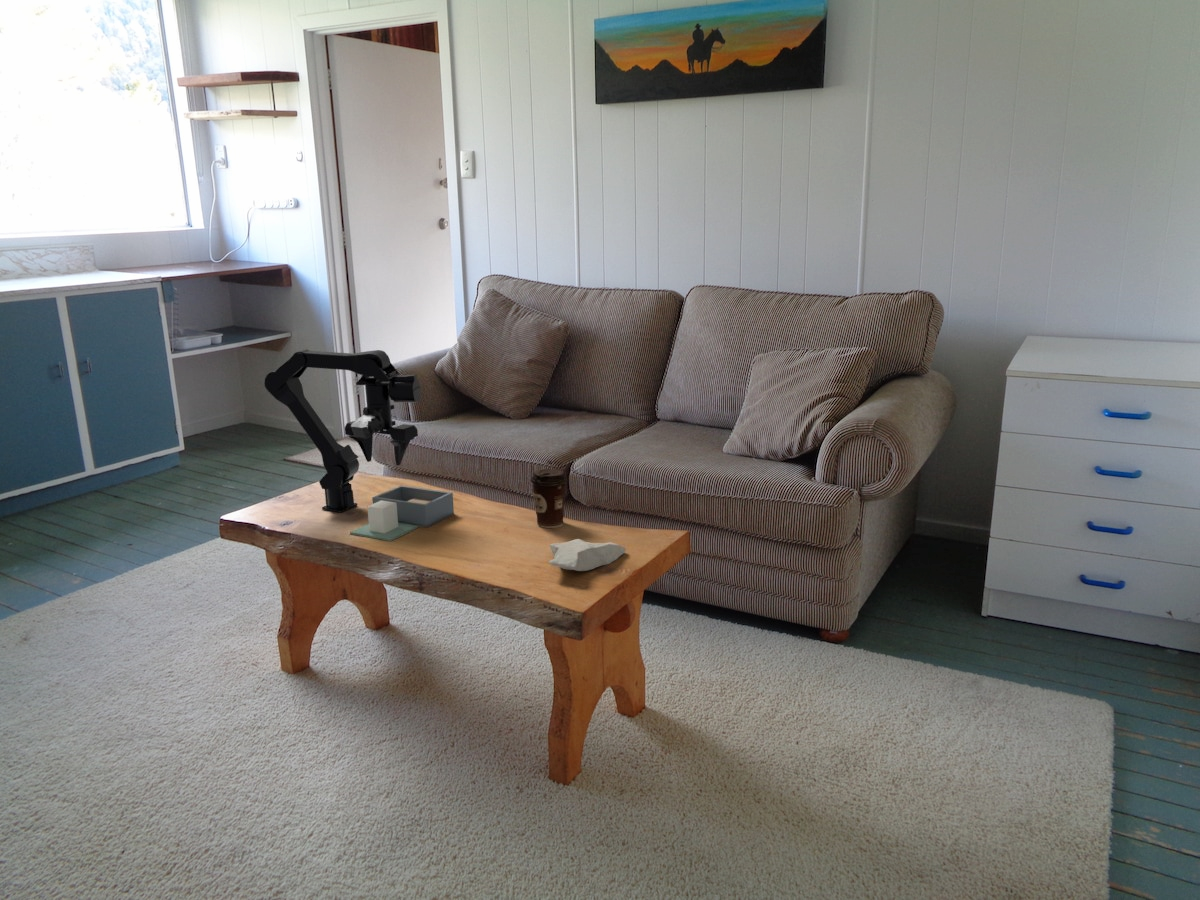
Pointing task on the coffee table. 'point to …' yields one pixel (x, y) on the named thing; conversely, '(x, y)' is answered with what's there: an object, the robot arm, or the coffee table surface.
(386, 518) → the block
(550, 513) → the coffee cup
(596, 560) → the rock
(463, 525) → the coffee table surface
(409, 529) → the board
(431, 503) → the slot box
